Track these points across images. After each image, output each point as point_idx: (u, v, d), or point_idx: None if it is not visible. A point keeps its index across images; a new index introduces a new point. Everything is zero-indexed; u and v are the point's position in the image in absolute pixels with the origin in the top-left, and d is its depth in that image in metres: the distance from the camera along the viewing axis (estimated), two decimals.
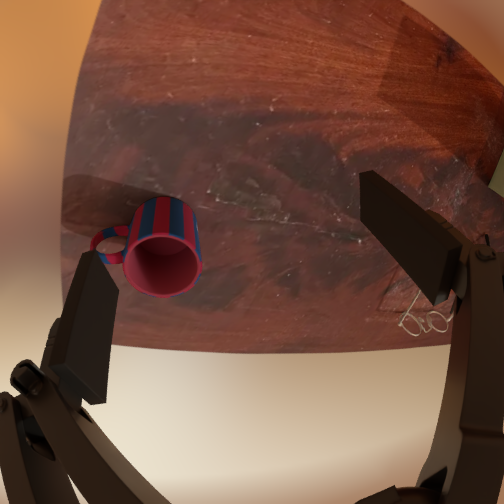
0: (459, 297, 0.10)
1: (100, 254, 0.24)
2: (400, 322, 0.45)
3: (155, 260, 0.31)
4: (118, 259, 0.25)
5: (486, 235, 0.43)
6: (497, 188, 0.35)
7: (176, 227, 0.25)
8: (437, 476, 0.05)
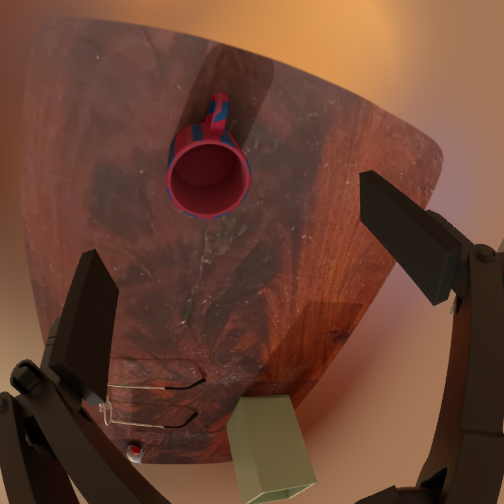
0: (459, 297, 0.10)
1: (226, 112, 0.22)
2: None
3: None
4: (217, 131, 0.23)
5: (196, 413, 0.57)
6: (245, 404, 0.55)
7: None
8: (437, 476, 0.05)
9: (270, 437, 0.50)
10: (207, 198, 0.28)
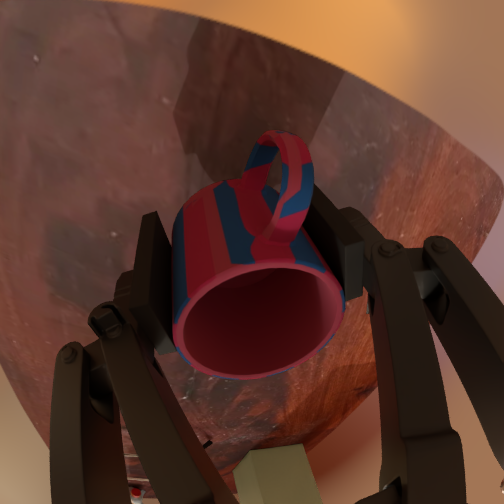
0: (372, 297, 0.11)
1: (311, 193, 0.09)
2: None
3: None
4: (285, 235, 0.10)
5: None
6: (255, 459, 0.45)
7: None
8: (396, 482, 0.05)
9: (284, 493, 0.40)
10: (248, 324, 0.16)
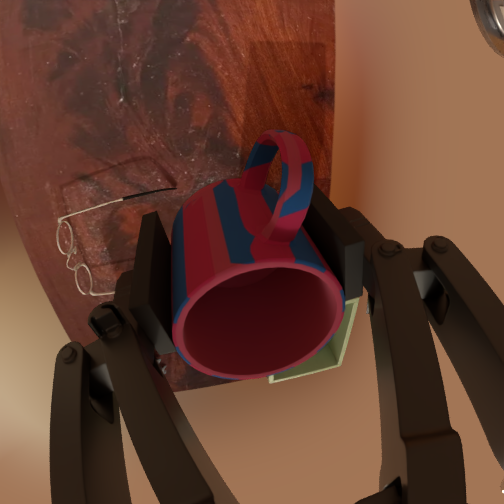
0: (372, 296, 0.11)
1: (311, 192, 0.09)
2: (61, 217, 0.38)
3: None
4: (285, 234, 0.10)
5: None
6: None
7: None
8: (396, 482, 0.05)
9: None
10: (248, 324, 0.16)
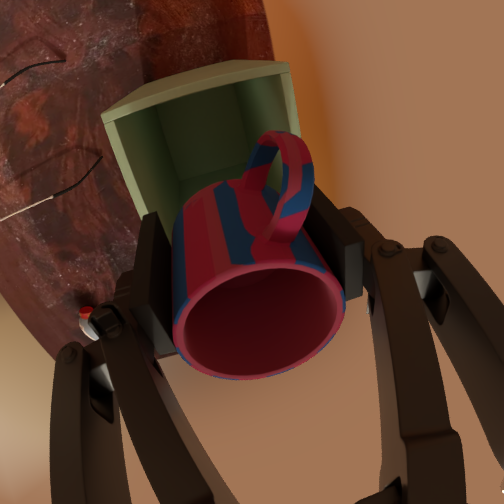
0: (371, 296, 0.11)
1: (311, 193, 0.09)
2: None
3: None
4: (285, 235, 0.10)
5: (100, 157, 0.33)
6: (147, 83, 0.28)
7: None
8: (396, 482, 0.05)
9: (175, 78, 0.23)
10: (248, 325, 0.16)
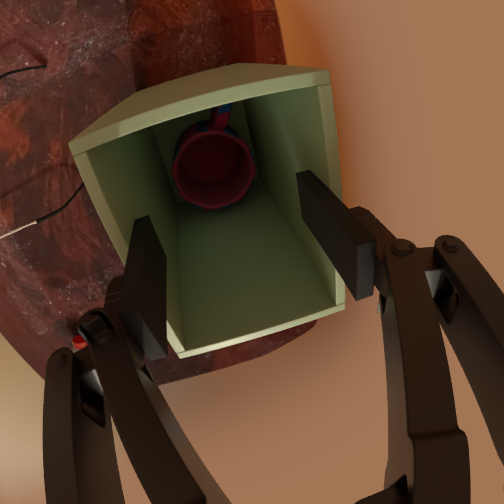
0: (383, 295, 0.11)
1: (230, 105, 0.23)
2: None
3: None
4: (221, 123, 0.23)
5: None
6: (139, 91, 0.24)
7: None
8: (401, 481, 0.05)
9: (171, 85, 0.19)
10: (213, 192, 0.29)
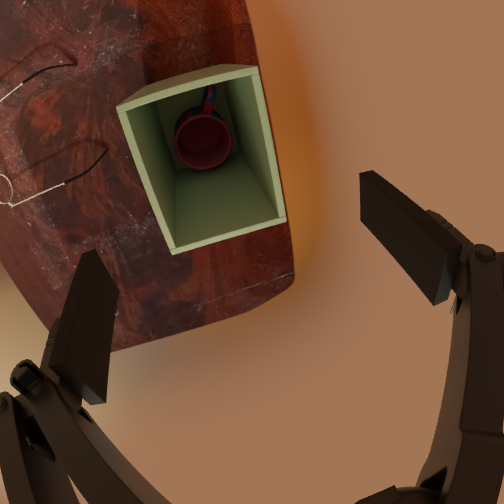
0: (459, 297, 0.10)
1: (215, 96, 0.32)
2: None
3: None
4: (208, 109, 0.32)
5: (107, 148, 0.38)
6: (148, 85, 0.33)
7: None
8: (437, 476, 0.05)
9: (172, 80, 0.27)
10: (202, 159, 0.38)
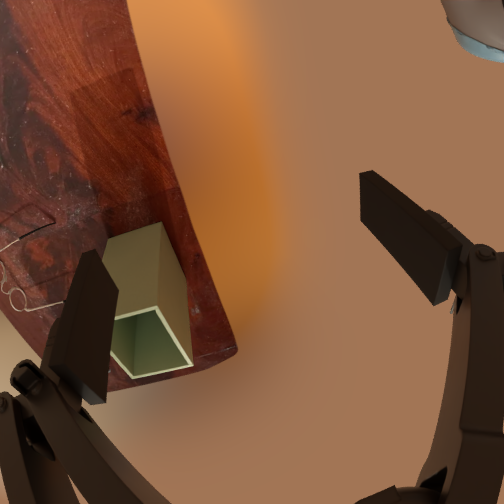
0: (459, 297, 0.10)
1: None
2: None
3: None
4: None
5: None
6: (109, 243, 0.50)
7: None
8: (437, 476, 0.05)
9: (120, 264, 0.44)
10: None
